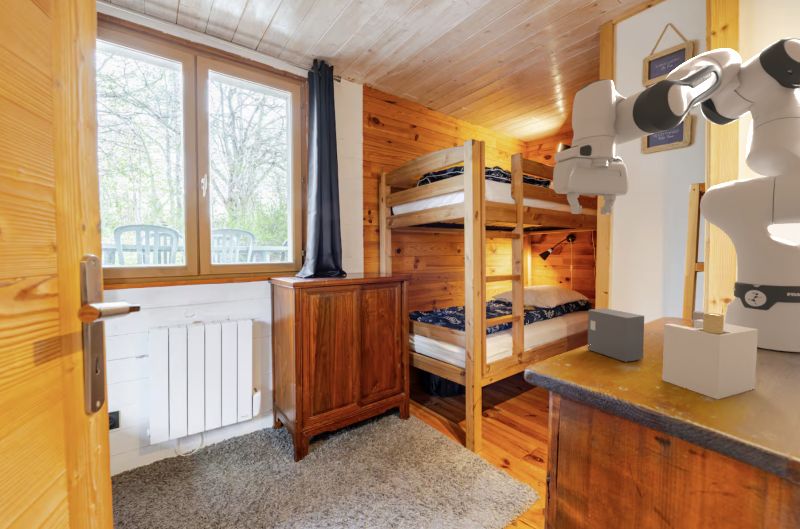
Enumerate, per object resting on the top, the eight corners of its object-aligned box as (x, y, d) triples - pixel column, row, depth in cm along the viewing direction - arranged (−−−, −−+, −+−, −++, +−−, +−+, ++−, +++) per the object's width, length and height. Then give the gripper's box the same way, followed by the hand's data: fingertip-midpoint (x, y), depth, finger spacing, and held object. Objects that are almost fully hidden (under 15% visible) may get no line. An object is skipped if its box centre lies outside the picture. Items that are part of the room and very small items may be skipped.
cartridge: (603, 346, 79) (604, 308, 78) (643, 358, 71) (644, 315, 70) (587, 349, 77) (588, 310, 77) (625, 362, 69) (626, 318, 68)
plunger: (707, 348, 56) (709, 312, 56) (725, 352, 54) (727, 315, 54) (698, 350, 55) (699, 313, 55) (716, 354, 53) (718, 316, 53)
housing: (698, 372, 64) (700, 319, 63) (754, 388, 56) (757, 329, 55) (662, 380, 60) (664, 324, 59) (717, 399, 53) (720, 335, 52)
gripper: (612, 160, 86) (610, 215, 87) (548, 154, 79) (547, 214, 80) (637, 154, 80) (635, 213, 81) (570, 147, 73) (569, 212, 74)
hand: (591, 214), depth 80 cm, fingers open, 8 cm apart
